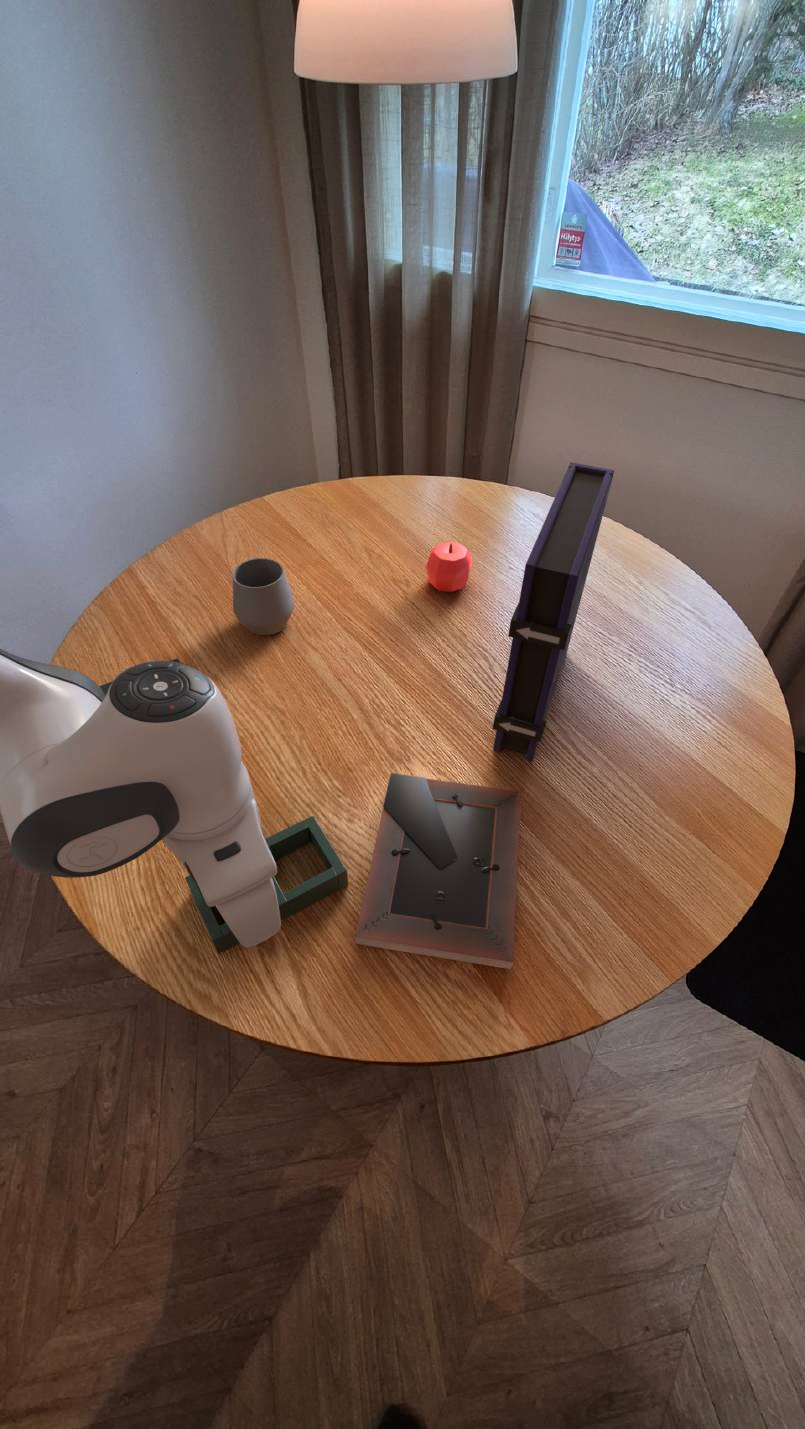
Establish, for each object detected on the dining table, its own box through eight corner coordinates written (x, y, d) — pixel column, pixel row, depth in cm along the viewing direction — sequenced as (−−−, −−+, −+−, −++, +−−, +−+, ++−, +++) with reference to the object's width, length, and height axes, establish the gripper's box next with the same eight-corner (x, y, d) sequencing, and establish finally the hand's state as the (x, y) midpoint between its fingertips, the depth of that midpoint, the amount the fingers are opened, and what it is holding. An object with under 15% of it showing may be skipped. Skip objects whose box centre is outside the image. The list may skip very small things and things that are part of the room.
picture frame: (390, 784, 85) (355, 945, 71) (390, 772, 83) (354, 935, 69) (519, 802, 83) (510, 970, 69) (522, 790, 82) (513, 961, 67)
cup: (287, 647, 102) (278, 595, 95) (229, 640, 103) (216, 588, 96) (303, 609, 109) (296, 557, 101) (249, 602, 110) (238, 551, 102)
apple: (466, 568, 117) (470, 529, 111) (475, 596, 112) (480, 556, 106) (421, 572, 116) (423, 532, 110) (429, 600, 111) (431, 559, 105)
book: (529, 643, 104) (566, 461, 81) (569, 653, 102) (618, 470, 80) (488, 752, 89) (520, 565, 67) (534, 766, 87) (582, 579, 65)
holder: (218, 954, 70) (211, 941, 67) (191, 892, 75) (184, 877, 72) (348, 885, 76) (347, 870, 73) (315, 831, 80) (313, 815, 78)
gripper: (138, 746, 64) (173, 824, 75) (212, 916, 53) (241, 981, 63) (200, 721, 67) (226, 800, 77) (284, 879, 55) (301, 947, 65)
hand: (233, 883), depth 70 cm, fingers closed on pill bottle, 5 cm apart
